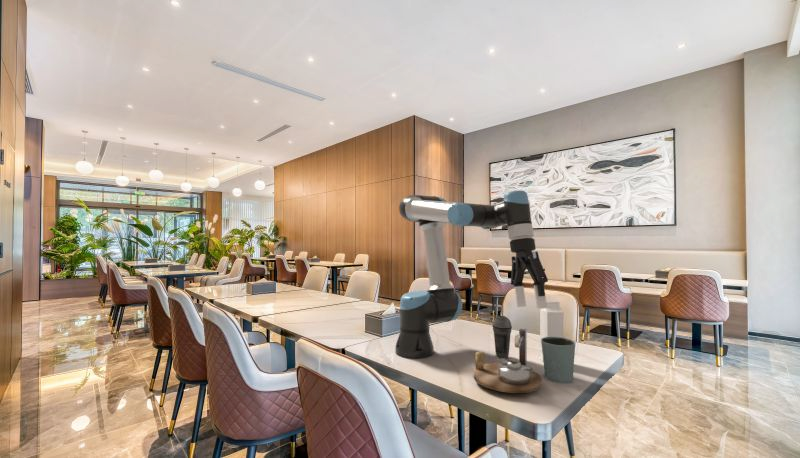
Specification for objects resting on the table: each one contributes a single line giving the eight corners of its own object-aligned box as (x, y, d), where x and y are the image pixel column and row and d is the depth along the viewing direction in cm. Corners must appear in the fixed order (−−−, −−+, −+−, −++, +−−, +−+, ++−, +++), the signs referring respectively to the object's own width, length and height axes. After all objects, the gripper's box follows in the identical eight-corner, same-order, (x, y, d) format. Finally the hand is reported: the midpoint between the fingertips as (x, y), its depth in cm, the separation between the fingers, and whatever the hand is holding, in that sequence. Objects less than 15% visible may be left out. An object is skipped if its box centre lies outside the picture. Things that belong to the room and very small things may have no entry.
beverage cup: (509, 354, 138) (509, 302, 139) (514, 360, 131) (513, 306, 131) (490, 353, 139) (490, 302, 139) (494, 359, 131) (493, 305, 132)
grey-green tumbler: (580, 378, 114) (580, 341, 114) (568, 387, 107) (567, 347, 108) (549, 370, 121) (549, 334, 122) (535, 377, 115) (535, 340, 115)
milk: (540, 359, 132) (539, 300, 133) (556, 359, 132) (555, 300, 133) (547, 365, 126) (547, 303, 127) (564, 365, 126) (563, 303, 127)
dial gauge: (508, 379, 113) (508, 335, 113) (517, 367, 123) (517, 327, 124) (524, 382, 110) (524, 337, 111) (532, 370, 121) (532, 329, 121)
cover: (494, 381, 104) (494, 363, 104) (502, 371, 111) (502, 355, 111) (526, 388, 99) (526, 369, 99) (532, 377, 107) (532, 360, 107)
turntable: (464, 383, 106) (464, 361, 106) (484, 363, 123) (484, 344, 123) (534, 399, 95) (534, 374, 96) (546, 375, 112) (546, 354, 113)
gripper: (553, 231, 100) (565, 307, 96) (516, 244, 125) (525, 305, 121) (527, 232, 99) (539, 309, 96) (496, 245, 124) (504, 307, 120)
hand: (531, 307), depth 108 cm, fingers open, 13 cm apart
